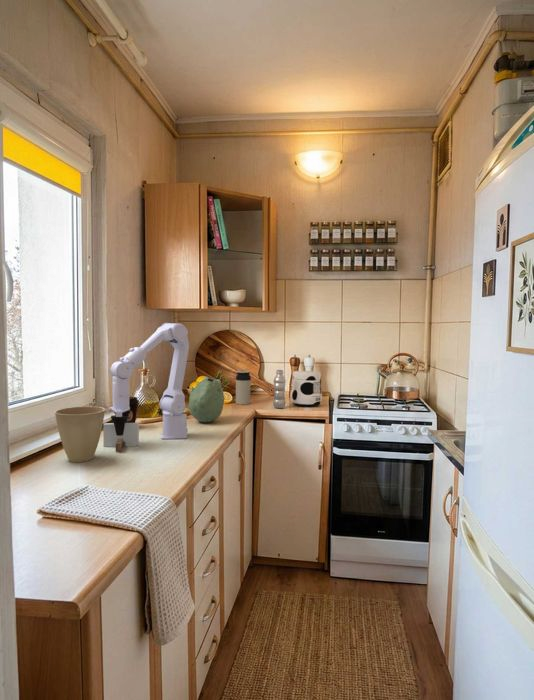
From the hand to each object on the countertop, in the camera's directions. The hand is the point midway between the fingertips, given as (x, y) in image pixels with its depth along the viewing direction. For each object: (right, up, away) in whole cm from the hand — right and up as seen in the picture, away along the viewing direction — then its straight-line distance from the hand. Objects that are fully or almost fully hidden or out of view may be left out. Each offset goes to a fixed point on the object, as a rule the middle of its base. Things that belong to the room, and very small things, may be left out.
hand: (120, 432), depth 170 cm
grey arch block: (0, -5, 0) cm, 5 cm away
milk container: (+74, -1, +90) cm, 117 cm away
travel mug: (+39, 0, +90) cm, 99 cm away
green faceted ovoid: (+25, -3, +42) cm, 49 cm away
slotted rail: (0, -5, 0) cm, 5 cm away
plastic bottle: (+59, -1, +79) cm, 99 cm away
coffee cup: (-5, -3, +27) cm, 27 cm away
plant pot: (-8, -6, -17) cm, 19 cm away
